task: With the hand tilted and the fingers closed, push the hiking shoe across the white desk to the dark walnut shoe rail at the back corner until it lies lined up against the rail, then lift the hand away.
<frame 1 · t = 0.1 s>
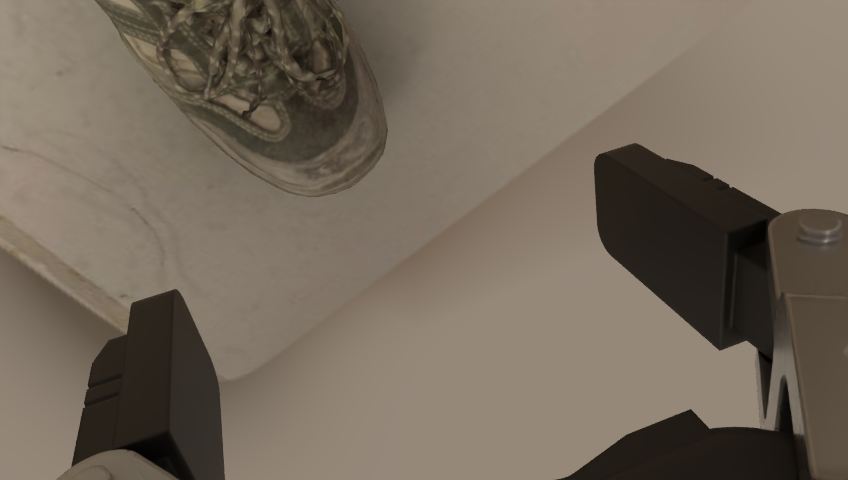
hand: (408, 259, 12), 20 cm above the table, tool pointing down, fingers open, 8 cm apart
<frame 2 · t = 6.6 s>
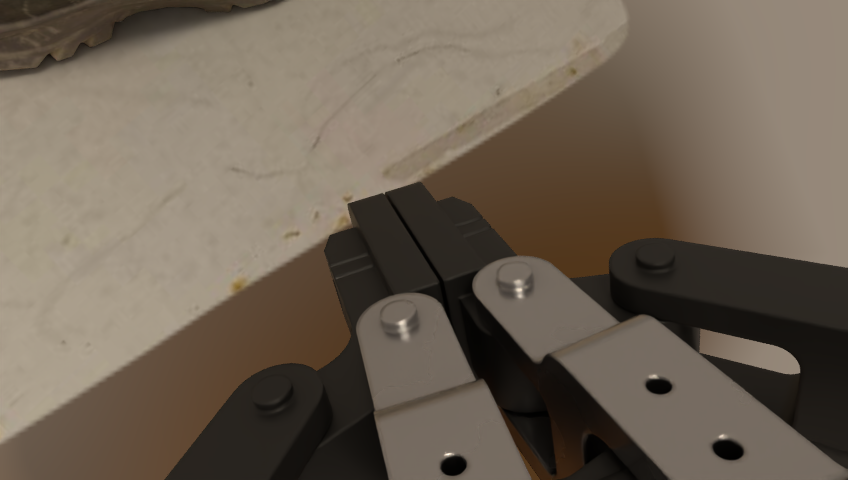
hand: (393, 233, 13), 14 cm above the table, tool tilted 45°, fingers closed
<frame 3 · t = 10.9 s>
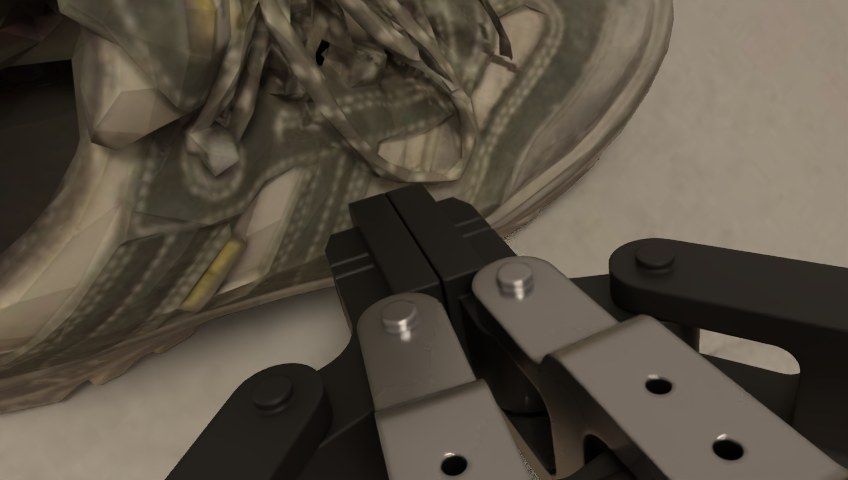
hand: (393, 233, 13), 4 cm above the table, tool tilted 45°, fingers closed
hiking shoe: (295, 175, 18), on the table, touching gripper
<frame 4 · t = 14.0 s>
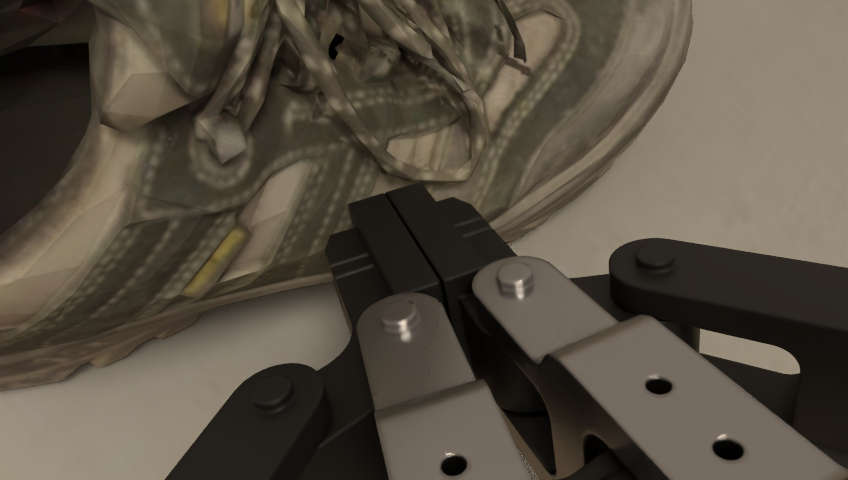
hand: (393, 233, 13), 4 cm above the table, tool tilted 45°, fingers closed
hiking shoe: (305, 169, 18), on the table, touching gripper
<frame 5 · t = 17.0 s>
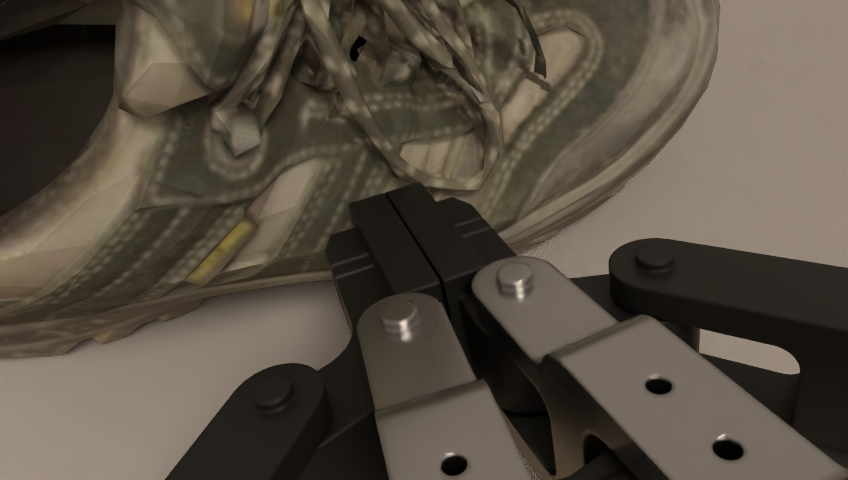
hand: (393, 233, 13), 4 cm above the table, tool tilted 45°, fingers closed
hiking shoe: (320, 164, 19), on the table, touching gripper, shoe rail
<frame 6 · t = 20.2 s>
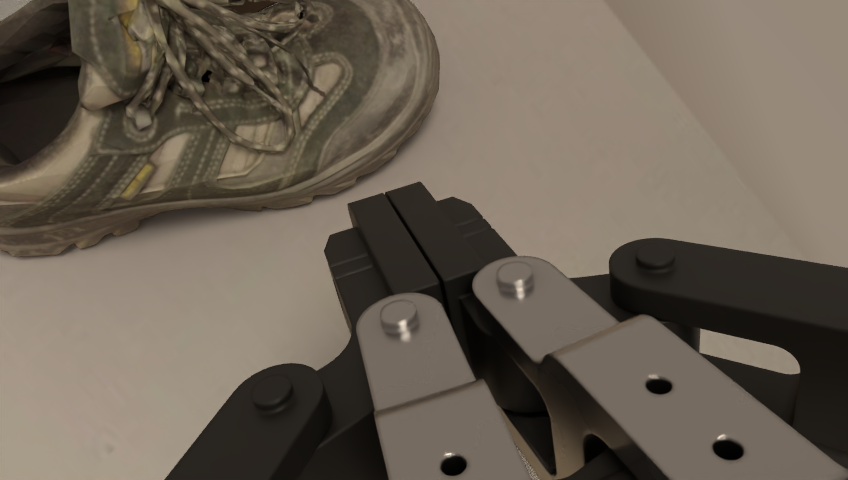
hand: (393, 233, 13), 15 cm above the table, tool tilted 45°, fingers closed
shoe rail: (79, 77, 30), on the table
hiking shoe: (215, 145, 30), on the table
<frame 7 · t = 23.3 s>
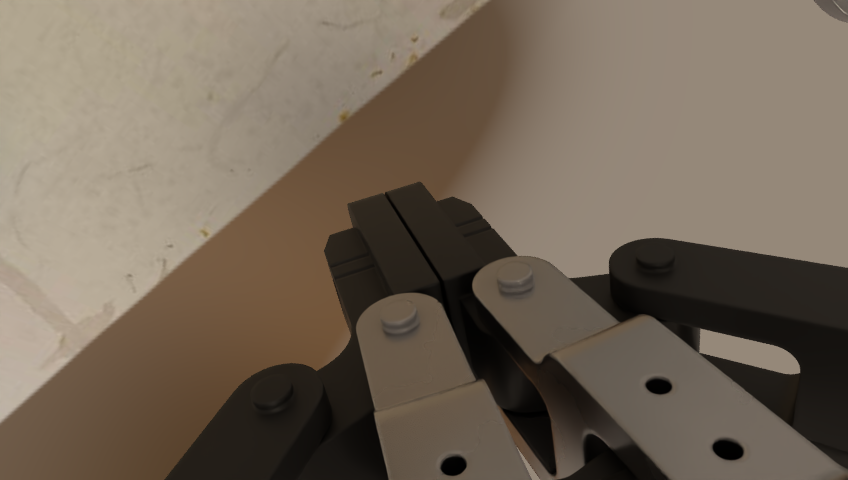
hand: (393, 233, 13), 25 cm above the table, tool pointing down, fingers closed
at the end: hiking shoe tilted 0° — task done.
